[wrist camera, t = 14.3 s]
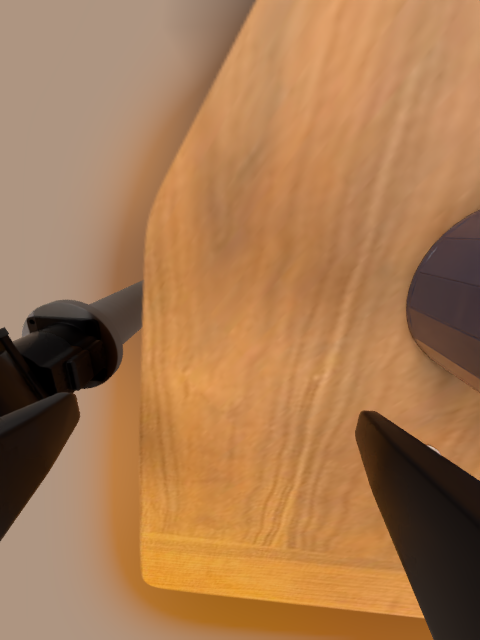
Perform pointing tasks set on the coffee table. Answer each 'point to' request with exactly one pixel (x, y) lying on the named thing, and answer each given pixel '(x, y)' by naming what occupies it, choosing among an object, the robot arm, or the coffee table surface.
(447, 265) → the pot
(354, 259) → the coffee table surface
